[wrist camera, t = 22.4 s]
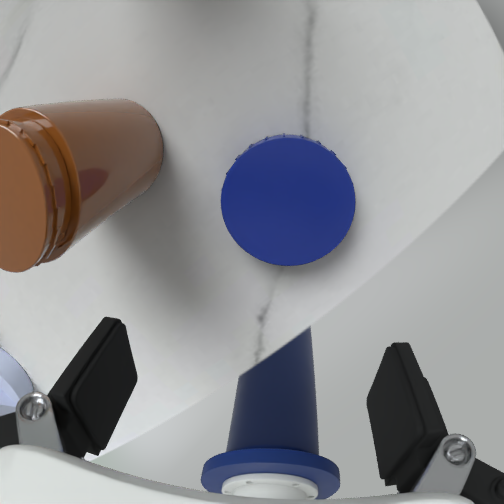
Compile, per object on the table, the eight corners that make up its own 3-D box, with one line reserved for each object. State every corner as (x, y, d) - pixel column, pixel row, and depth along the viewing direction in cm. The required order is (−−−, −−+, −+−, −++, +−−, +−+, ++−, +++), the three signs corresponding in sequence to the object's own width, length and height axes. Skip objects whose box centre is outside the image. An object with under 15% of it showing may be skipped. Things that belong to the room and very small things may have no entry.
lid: (203, 168, 18) (195, 175, 17) (318, 112, 16) (322, 113, 15) (260, 270, 21) (258, 284, 19) (367, 225, 19) (374, 236, 17)
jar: (183, 168, 19) (89, 239, 9) (105, 217, 20) (5, 301, 11) (131, 77, 16) (3, 73, 7) (59, 137, 18) (-61, 179, 9)
